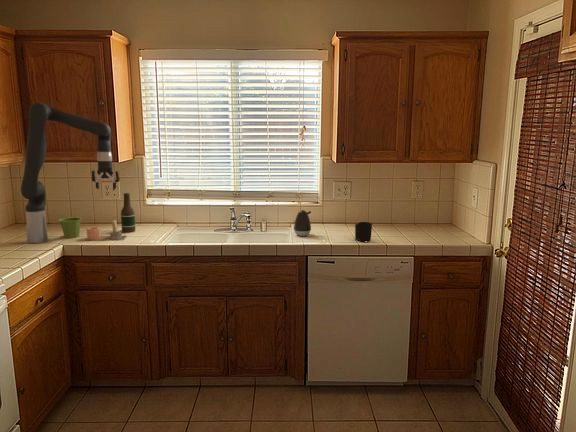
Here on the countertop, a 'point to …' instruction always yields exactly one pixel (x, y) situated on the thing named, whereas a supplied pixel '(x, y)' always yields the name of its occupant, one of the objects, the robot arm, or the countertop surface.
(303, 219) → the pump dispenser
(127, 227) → the beer bottle
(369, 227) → the pen holder
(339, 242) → the countertop surface
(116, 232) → the birch dowel
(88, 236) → the terracotta cup
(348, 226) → the countertop surface
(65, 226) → the plant pot
